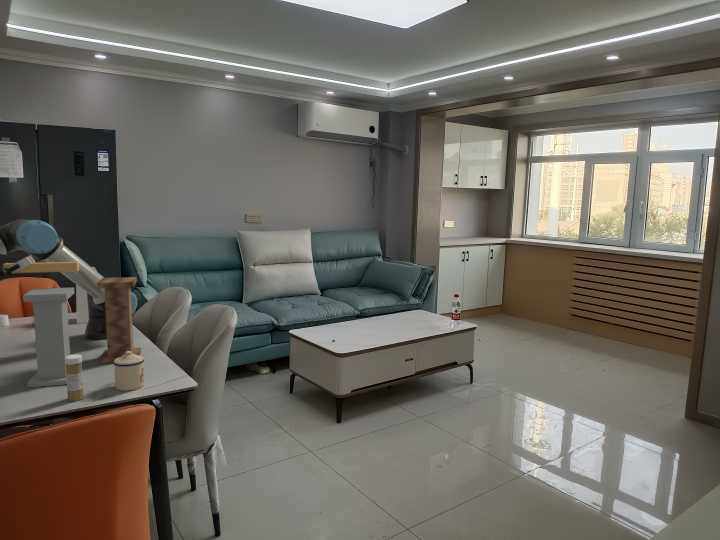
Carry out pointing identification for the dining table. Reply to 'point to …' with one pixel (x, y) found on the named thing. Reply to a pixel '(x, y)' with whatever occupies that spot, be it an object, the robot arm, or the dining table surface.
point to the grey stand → (50, 334)
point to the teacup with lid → (129, 372)
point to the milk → (82, 304)
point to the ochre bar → (48, 267)
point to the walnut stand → (118, 317)
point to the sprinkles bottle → (74, 377)
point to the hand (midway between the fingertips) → (30, 259)
